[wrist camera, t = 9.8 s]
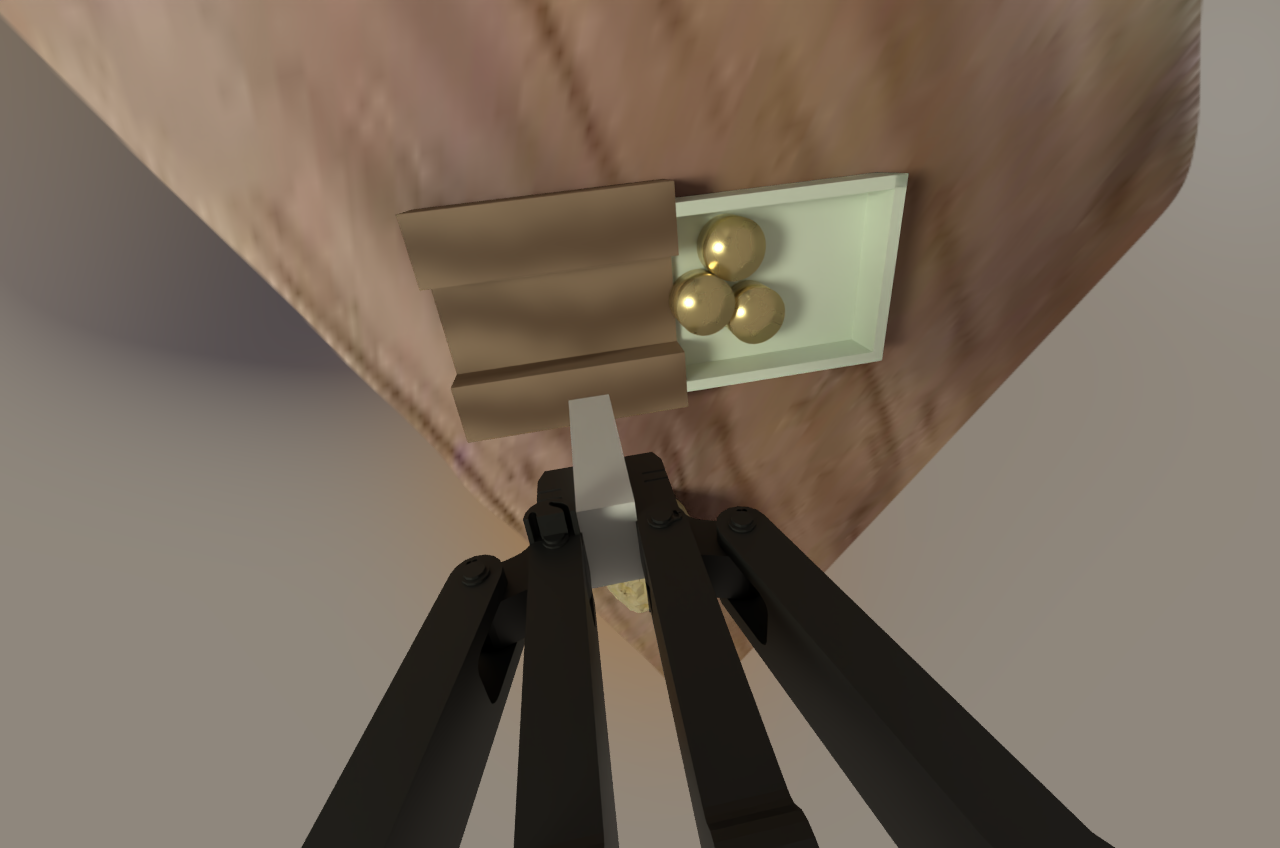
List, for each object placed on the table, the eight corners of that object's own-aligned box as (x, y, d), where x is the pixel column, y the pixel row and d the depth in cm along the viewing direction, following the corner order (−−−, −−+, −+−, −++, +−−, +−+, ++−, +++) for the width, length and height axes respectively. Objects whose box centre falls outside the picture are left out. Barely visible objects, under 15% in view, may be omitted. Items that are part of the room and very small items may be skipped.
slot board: (411, 209, 31) (395, 214, 28) (662, 179, 32) (674, 180, 29) (474, 420, 38) (467, 442, 35) (677, 387, 39) (688, 406, 36)
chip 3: (740, 269, 35) (752, 276, 33) (781, 297, 37) (796, 305, 34) (708, 317, 36) (718, 327, 34) (750, 342, 38) (762, 353, 36)
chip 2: (662, 279, 34) (671, 287, 32) (717, 261, 34) (729, 268, 32) (675, 332, 36) (684, 343, 34) (727, 315, 36) (739, 325, 34)
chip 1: (685, 241, 34) (694, 247, 31) (731, 200, 33) (744, 202, 31) (718, 286, 35) (729, 293, 33) (762, 247, 35) (777, 253, 32)
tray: (663, 199, 33) (675, 202, 30) (876, 172, 34) (908, 173, 31) (676, 373, 39) (687, 391, 36) (856, 345, 40) (881, 360, 37)
